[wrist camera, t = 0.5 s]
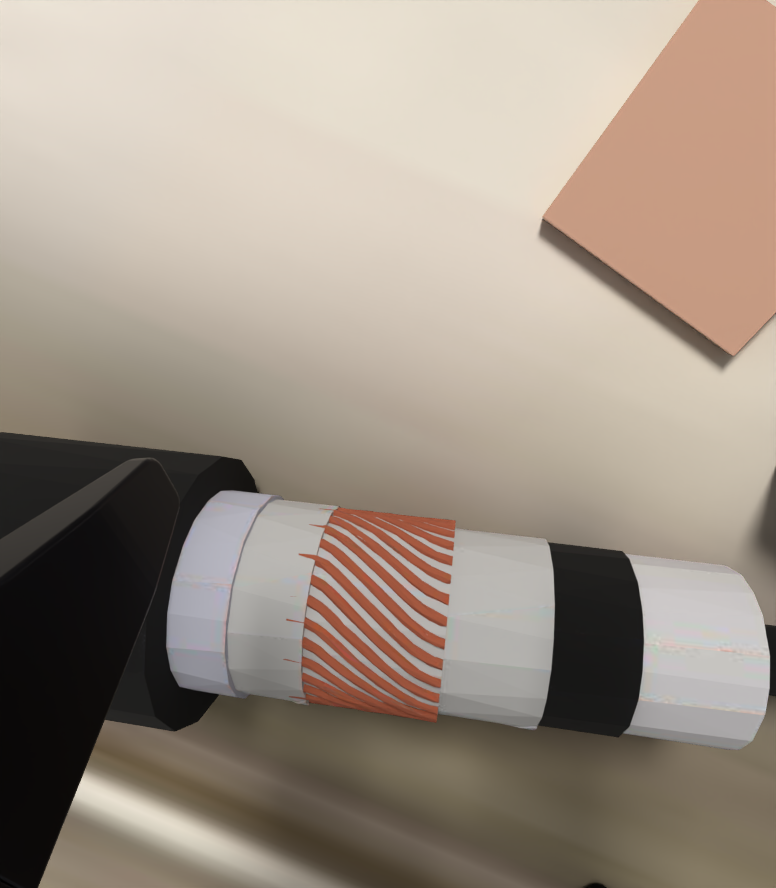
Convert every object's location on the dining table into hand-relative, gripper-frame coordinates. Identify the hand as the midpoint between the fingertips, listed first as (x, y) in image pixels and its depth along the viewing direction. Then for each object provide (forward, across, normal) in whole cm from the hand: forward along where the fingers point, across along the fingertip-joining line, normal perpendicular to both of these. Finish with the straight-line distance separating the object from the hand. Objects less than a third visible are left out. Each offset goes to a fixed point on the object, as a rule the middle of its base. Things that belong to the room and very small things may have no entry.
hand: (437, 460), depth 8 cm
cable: (+10, +4, +14) cm, 18 cm away
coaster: (+15, -8, +1) cm, 17 cm away
